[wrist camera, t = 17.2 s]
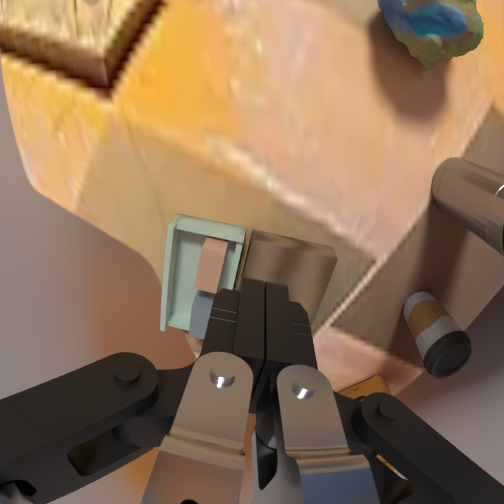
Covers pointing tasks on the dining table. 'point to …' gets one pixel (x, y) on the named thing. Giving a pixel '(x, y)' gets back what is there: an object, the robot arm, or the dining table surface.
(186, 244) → the tray
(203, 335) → the slate tile
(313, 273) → the grey brown flat block
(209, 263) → the terracotta tile
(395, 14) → the blue green round ball
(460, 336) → the coffee cup
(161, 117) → the dining table surface
